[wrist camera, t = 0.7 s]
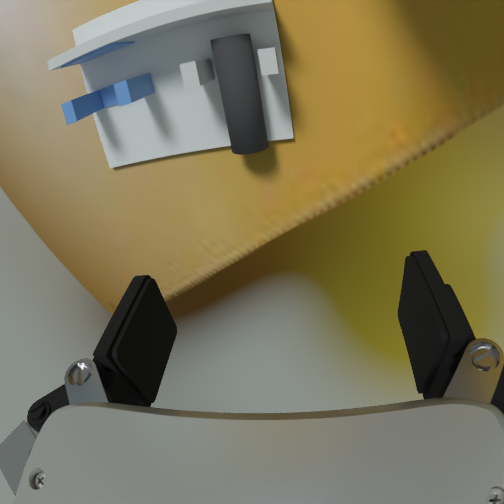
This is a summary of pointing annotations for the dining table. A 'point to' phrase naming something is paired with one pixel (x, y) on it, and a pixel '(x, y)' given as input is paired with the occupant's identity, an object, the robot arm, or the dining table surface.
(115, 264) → the dining table surface
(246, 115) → the cylinder
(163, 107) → the white holder rack
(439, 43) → the dining table surface
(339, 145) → the dining table surface
